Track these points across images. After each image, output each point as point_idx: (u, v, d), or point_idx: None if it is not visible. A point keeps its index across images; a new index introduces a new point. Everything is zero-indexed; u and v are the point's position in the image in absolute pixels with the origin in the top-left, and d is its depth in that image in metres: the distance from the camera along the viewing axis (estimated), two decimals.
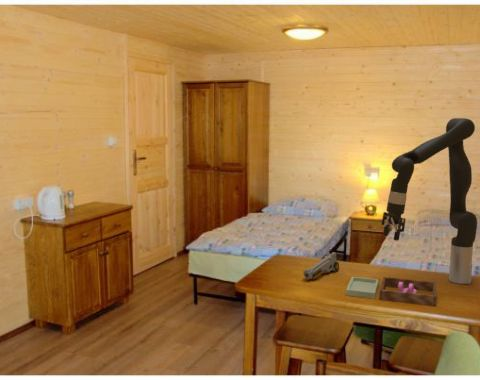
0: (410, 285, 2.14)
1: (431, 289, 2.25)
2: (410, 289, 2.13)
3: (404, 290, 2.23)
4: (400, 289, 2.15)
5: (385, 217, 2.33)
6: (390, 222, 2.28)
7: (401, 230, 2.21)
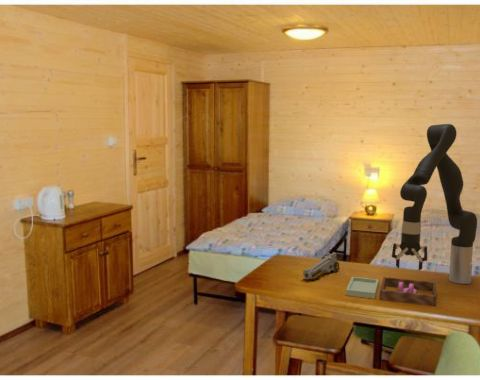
0: (410, 285, 2.14)
1: (431, 289, 2.25)
2: (410, 289, 2.13)
3: (404, 290, 2.23)
4: (400, 289, 2.15)
5: (395, 249, 2.19)
6: (408, 253, 2.17)
7: None
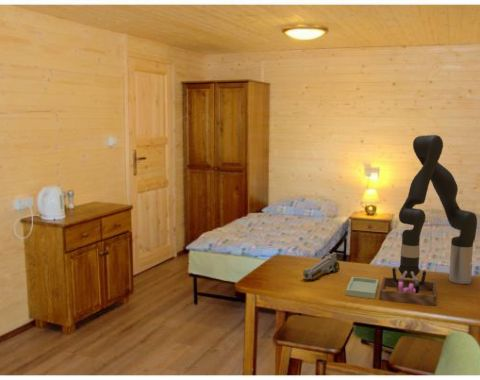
0: (410, 285, 2.14)
1: (431, 289, 2.25)
2: (410, 289, 2.13)
3: (404, 290, 2.23)
4: (400, 289, 2.15)
5: (395, 273, 2.21)
6: (407, 276, 2.19)
7: (423, 283, 2.18)
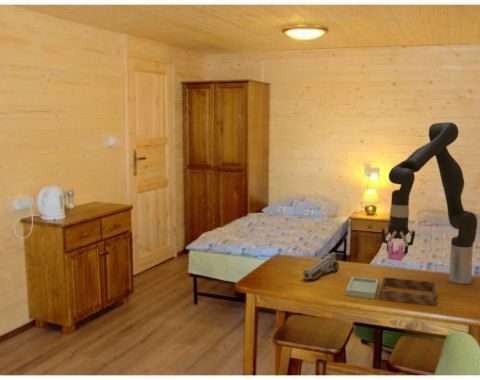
0: (400, 244, 2.13)
1: (431, 289, 2.25)
2: (400, 248, 2.12)
3: (393, 251, 2.22)
4: (390, 249, 2.14)
5: None
6: (396, 236, 2.17)
7: (412, 243, 2.17)
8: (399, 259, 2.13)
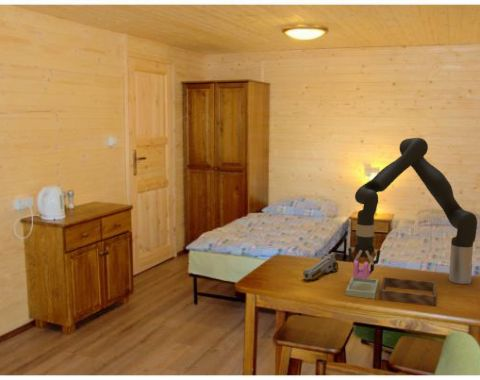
0: (365, 263, 2.19)
1: (431, 289, 2.25)
2: (365, 267, 2.18)
3: (360, 269, 2.28)
4: (355, 267, 2.20)
5: (351, 252, 2.26)
6: (362, 255, 2.24)
7: None
8: (364, 277, 2.19)
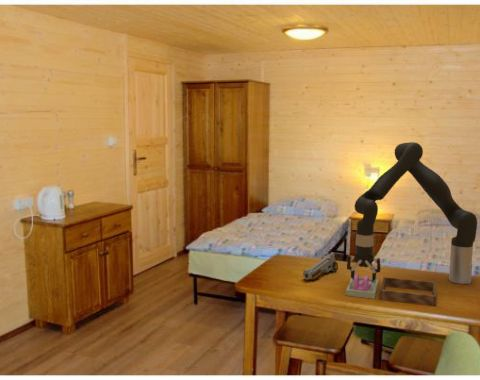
0: (365, 277, 2.20)
1: (431, 289, 2.25)
2: (365, 281, 2.19)
3: (359, 282, 2.29)
4: (356, 281, 2.21)
5: (350, 261, 2.27)
6: (362, 265, 2.24)
7: None
8: None
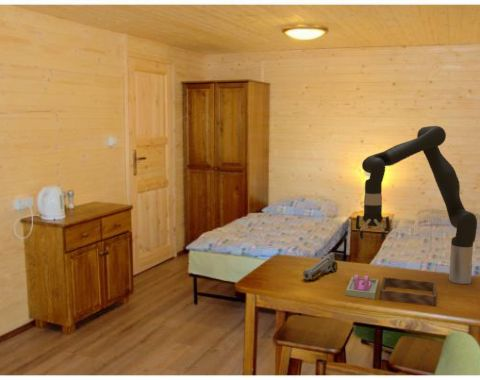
0: (366, 277, 2.20)
1: (431, 289, 2.25)
2: (366, 281, 2.19)
3: (360, 282, 2.29)
4: (356, 282, 2.21)
5: None
6: (371, 224, 2.24)
7: (389, 228, 2.23)
8: None
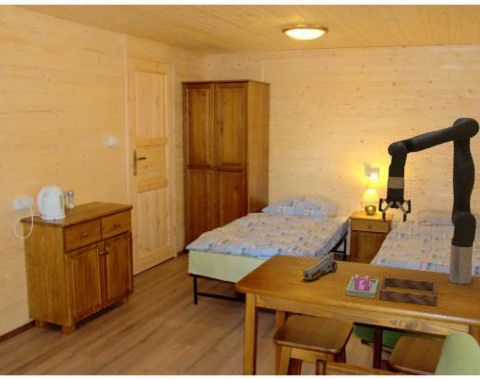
0: (366, 277, 2.20)
1: (431, 289, 2.25)
2: (366, 281, 2.19)
3: (360, 282, 2.29)
4: (356, 282, 2.21)
5: (381, 203, 2.36)
6: (393, 206, 2.34)
7: None
8: None
